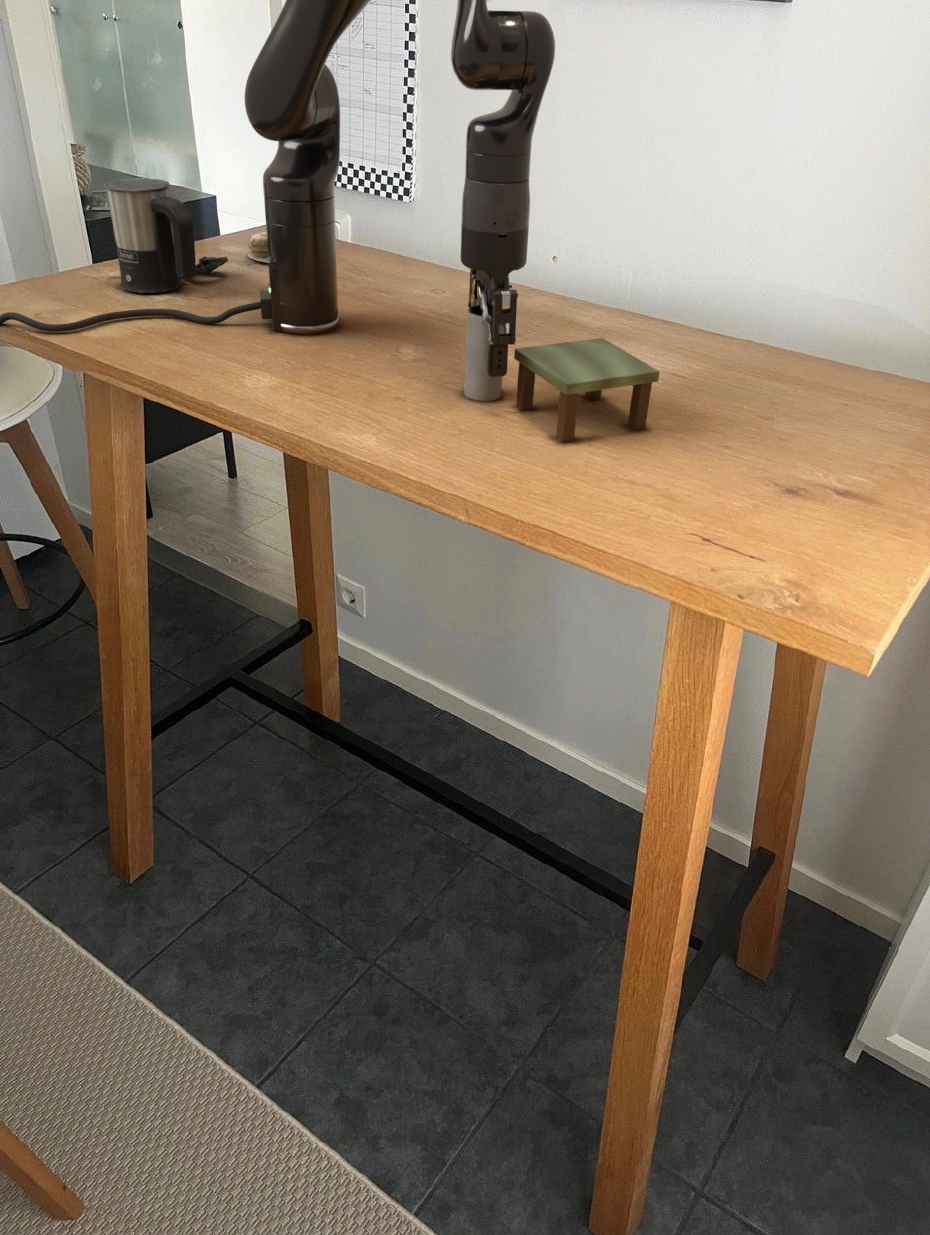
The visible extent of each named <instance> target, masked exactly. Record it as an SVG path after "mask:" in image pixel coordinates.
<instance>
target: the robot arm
mask: <svg viewBox="0 0 930 1235" xmlns="http://www.w3.org/2000/svg"><path fill="white" fill-rule="evenodd" d="M371 1H372V0H285V1H284V4H283V7H282V8H281V11H280V13H279V14H278V17H277V19H276V21H275V23H274V24H273V27H272V28H271V30H270V32H269V34H268V36H267V37H266V40H265V41H264V44H263V46H262V48H261V49H260V51H259V52H258V55H257V57H256V58H255V61H254V62H253V65H252V67H251V69H250V71H249V74H248V76H247V78H246V83H245V88H244V108H245V113H246V117H247V119H248V122H249V124H250V125H251V127H252V129H253V130H254V131H255V133H257V134H258V135H259V136H260V137H261V138H263V139H266V140H268V141H273V142H278V143H277V144H278V145H277V149H276V153H275V154H274V155H275V156H274V157H273V159H272V161H271V162H270V164H268V166H267V167H266V169H265V170H264V172H263V175H262V189H263V200H264V215H265V216H264V217H265V228H266V229H265V230H266V231H265V232H267V247H268V262H267V264H268V278H269V288H268V289H267V290H266V289H265V290H259V301H255V302H250V303H246V304H242V305H238V306H234V307H232V308H229V309H227V310H225V311H224V312H222V313H220V314H219V315H215V316H202V315H197V314H194V313H191V312H187V311H184V310H180V309H171V308H141V309H129V310H120V311H112V312H106V313H102V314H97V315H94V316H91V317H88V318H85V319H81V320H77V321H73V322H67V323H57V324H54V323H53V324H51V323H45V322H42V321H41V322H40V321H39V320H35V319H32V318H30V317H28V316H26V315H23V314H22V313H18V312H13V311H11V312H10V311H9V312H8V311H7V312H4V313H2V314H0V326H2V325H3V324H5V323H6V322H7V321H11V320H13V321H17V322H19V323H22V324H24V325H26V326H28V327H30V328H33V329H35V330H39V331H43V332H48V333H63V332H70V331H77V330H81V329H84V328H87V327H90V326H91V327H92V326H94V325H97V324H100V323H105V322H109V321H113V320H120V319H129V318H141V317H174V318H179V319H182V320H187V321H190V322H193V323H196V324H202V325H215V324H220V323H222V322H225V321H227V320H228V319H230V318H232V317H234V316H237V315H239V314H242V313H243V314H244V313H247V312H251V311H257V310H260V315H261V320H271V326H272V331H273V332H284V333H289V334H296V335H314V334H322V333H326V332H330V331H333V330H335V329H336V328H337V327H339V325H340V316H339V303H338V270H337V269H338V268H337V238H336V236H337V235H336V206H335V205H336V204H335V183H336V179H337V176H338V173H339V169H340V160H341V158H340V156H341V153H340V152H341V103H340V94H339V89H338V85H337V82H336V79H335V77H334V74H333V73H332V70H331V68H330V67H328V65H327V64H326V63H327V60H328V58H329V56H330V54H331V52H332V50H333V49H334V47H335V45H336V43H337V42H338V41H339V40H340V38H341V36H342V35H343V34H344V33H345V31H346V30H347V29H348V28H349V27H350V25H351V24H352V23H353V22H354V21H355V20H356V18H358V16H360V14H361V12H363V11H364V10H365V8H366V7H367V6H368V4H369V3H370V2H371ZM489 1H490V0H457V4H456V5H457V6H456V13H455V20H454V25H453V32H452V39H451V45H450V46H451V47H450V62H451V63H450V64H451V67H452V70H453V73H454V75H455V77H456V79H457V80H458V82H459V83H460V84H461V85H462V86H463V87H465V88H466V89H467V90H472V91H510V93H509V96H508V98H507V100H506V102H505V104H504V105H503V106H502V107H501V108H500V109H498V110H496V111H493V112H490V113H486V114H482V115H479V116H476V117H474V118H472V119H471V120H470V121H469V123H468V124H467V127H466V134H465V170H464V173H465V174H464V183H463V184H464V185H463V190H462V197H461V198H462V199H461V225H460V226H461V228H460V229H461V231H460V235H461V236H460V263H461V264H462V265H463V266H464V267H466V268H468V269H469V286H468V287H469V288H468V303H467V307H468V309H469V308H470V307H472V306H476V305H480V309H481V316H482V324H483V325H484V326H485V327H486V328H487V333H488V343H489V344H488V364H487V373H488V374H489V376H490V377H502V378H503V377H505V376H506V375H507V374H508V361H509V360H508V358H509V346H512V345H515V344H516V340H517V337H516V332H517V310H518V309H517V308H518V298H519V297H518V296H519V295H518V290H517V289H514V288H513V285H512V284H510V277H509V276H510V274H511V273H512V272H514V271H519V270H521V269H523V268H524V267H525V265H526V264H527V260H528V246H529V245H528V244H529V231H530V230H529V228H530V213H531V191H530V189H531V188H530V175H531V159H532V144H533V136H534V131H535V128H536V125H537V119H538V116H539V113H540V109H541V105H542V102H543V99H544V96H545V92H546V90H547V87H548V83H549V80H550V77H551V75H552V70H553V66H554V63H555V56H556V39H555V34H554V30H553V28H552V25H551V23H550V22H549V20H548V18H546V16H545V15H543V14H542V13H541V12H538V11H533V10H491V9H490V10H489V9H488V2H489ZM505 310H506V311H505ZM499 326H503V328H504V334H498V333H499Z"/></svg>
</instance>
